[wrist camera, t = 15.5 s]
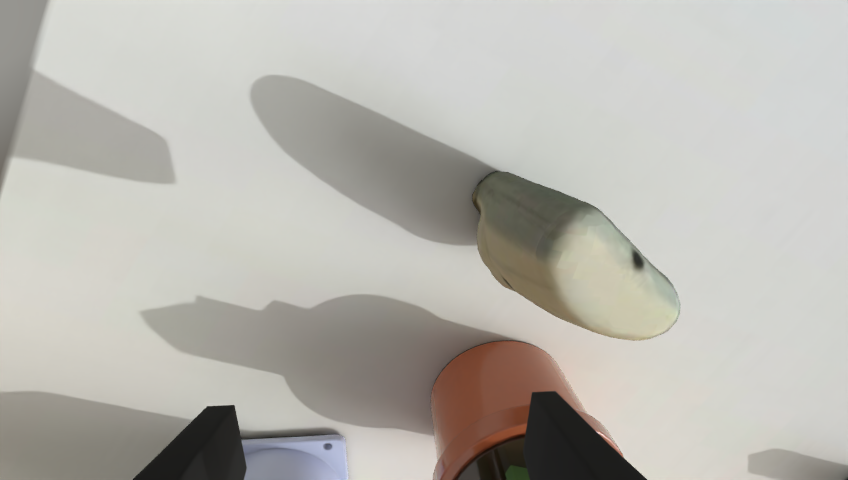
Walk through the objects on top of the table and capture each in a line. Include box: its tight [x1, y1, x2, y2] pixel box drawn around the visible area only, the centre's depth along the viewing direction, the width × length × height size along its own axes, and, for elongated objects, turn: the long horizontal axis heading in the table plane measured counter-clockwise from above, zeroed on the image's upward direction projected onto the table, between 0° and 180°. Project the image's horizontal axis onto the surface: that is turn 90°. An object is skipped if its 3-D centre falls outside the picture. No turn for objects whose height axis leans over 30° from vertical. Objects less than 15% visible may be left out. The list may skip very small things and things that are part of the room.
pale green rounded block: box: [472, 171, 680, 341], centre depth 15 cm, size 6×5×8 cm
